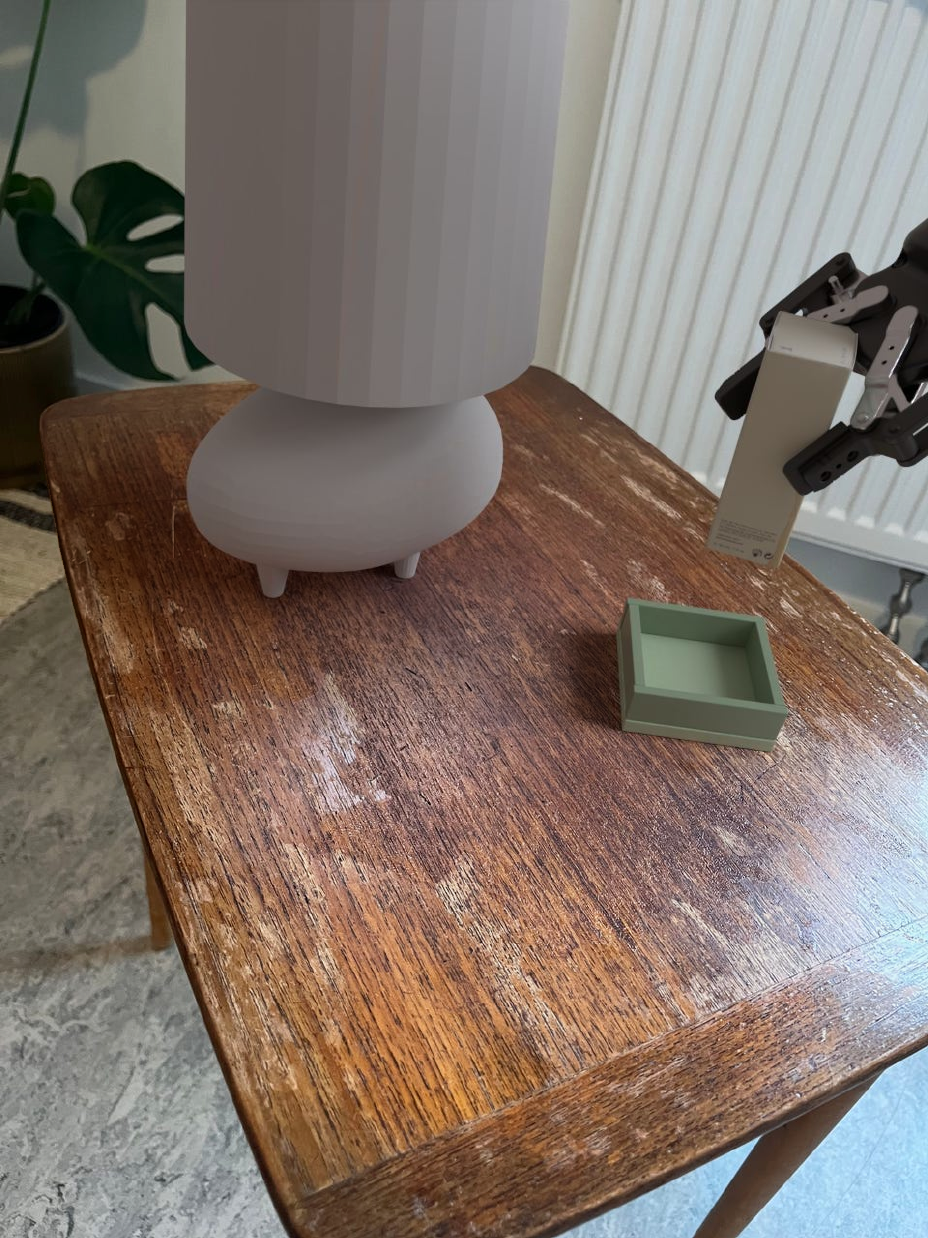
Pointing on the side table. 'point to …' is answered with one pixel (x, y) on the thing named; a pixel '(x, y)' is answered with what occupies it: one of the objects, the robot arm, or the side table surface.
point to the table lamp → (362, 264)
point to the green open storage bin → (698, 675)
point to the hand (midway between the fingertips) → (755, 444)
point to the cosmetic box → (781, 435)
